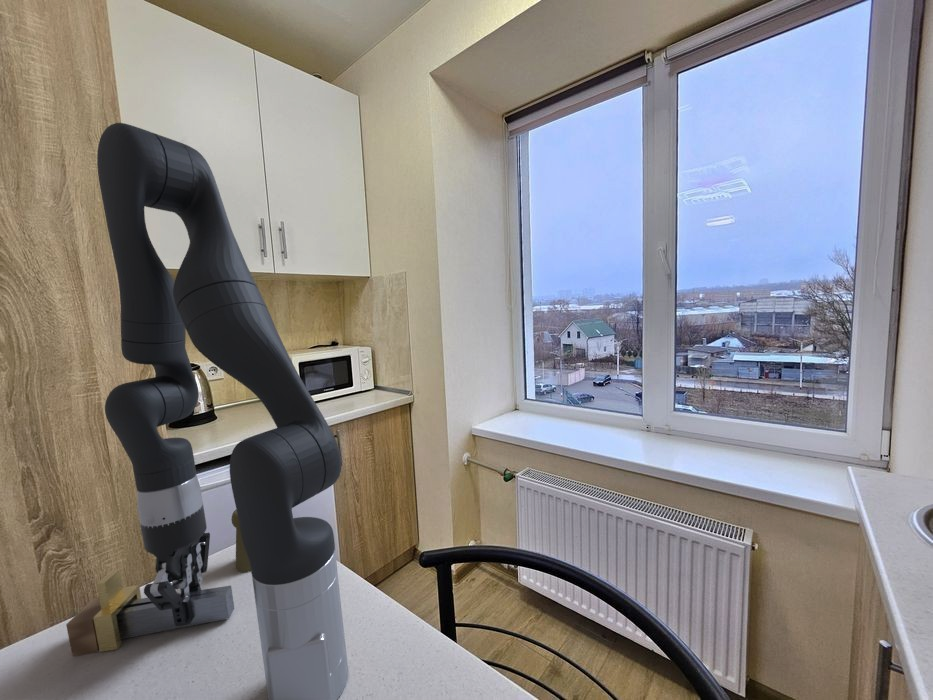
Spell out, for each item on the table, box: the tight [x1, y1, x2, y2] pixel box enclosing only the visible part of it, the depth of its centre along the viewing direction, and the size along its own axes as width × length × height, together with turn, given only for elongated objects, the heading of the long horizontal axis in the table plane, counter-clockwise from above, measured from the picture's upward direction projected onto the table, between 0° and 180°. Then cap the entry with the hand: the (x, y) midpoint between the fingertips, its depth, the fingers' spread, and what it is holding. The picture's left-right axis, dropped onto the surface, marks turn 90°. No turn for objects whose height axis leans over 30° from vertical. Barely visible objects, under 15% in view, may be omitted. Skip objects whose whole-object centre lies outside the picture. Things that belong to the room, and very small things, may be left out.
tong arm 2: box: [122, 585, 235, 614], centre depth 60 cm, size 16×1×4 cm, turn 98°
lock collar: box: [93, 568, 142, 653], centre depth 58 cm, size 2×6×9 cm, turn 10°
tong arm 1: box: [116, 590, 233, 640], centre depth 58 cm, size 16×1×4 cm, turn 101°
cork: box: [231, 508, 251, 573], centre depth 73 cm, size 6×6×11 cm
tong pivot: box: [65, 597, 101, 657], centre depth 57 cm, size 3×5×5 cm, turn 10°
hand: (189, 615), depth 60 cm, fingers open, 2 cm apart
